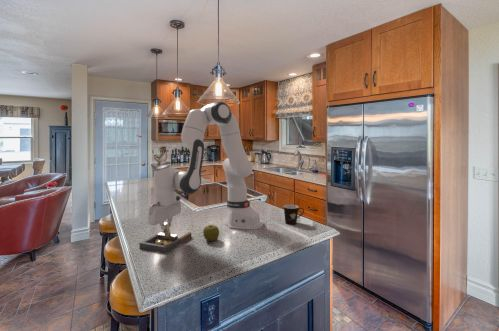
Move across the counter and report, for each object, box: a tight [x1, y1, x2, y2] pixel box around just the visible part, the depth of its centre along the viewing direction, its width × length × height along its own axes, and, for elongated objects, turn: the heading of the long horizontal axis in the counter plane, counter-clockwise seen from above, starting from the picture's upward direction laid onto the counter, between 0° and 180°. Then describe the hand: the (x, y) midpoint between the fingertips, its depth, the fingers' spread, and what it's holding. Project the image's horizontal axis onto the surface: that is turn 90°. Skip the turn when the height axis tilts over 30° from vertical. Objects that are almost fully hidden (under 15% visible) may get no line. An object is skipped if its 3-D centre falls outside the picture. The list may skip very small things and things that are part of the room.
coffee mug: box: [283, 204, 305, 226], centre depth 154 cm, size 12×9×10 cm
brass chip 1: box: [154, 239, 165, 245], centre depth 125 cm, size 4×4×2 cm
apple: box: [202, 224, 220, 242], centre depth 129 cm, size 8×8×7 cm
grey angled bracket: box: [139, 234, 181, 254], centre depth 123 cm, size 15×10×2 cm, turn 70°
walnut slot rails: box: [155, 230, 192, 245], centre depth 132 cm, size 15×9×2 cm, turn 70°
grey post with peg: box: [157, 221, 179, 241], centre depth 126 cm, size 10×2×9 cm, turn 70°
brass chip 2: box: [163, 240, 173, 246], centre depth 124 cm, size 4×4×2 cm
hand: (166, 228), depth 126 cm, fingers closed on grey post with peg, 2 cm apart
